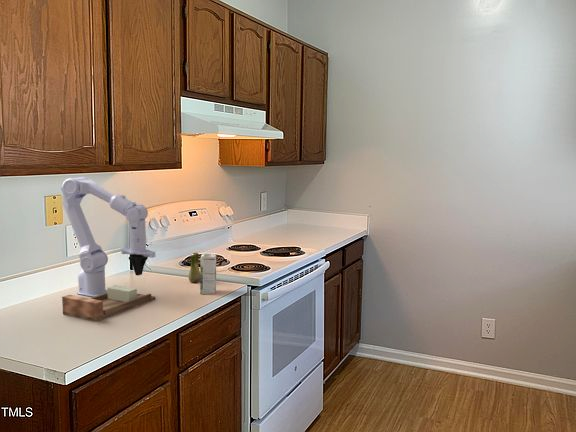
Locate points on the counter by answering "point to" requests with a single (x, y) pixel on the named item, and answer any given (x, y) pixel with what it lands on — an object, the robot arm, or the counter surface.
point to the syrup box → (208, 274)
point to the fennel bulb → (194, 269)
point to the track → (116, 305)
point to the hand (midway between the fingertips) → (138, 274)
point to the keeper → (121, 293)
